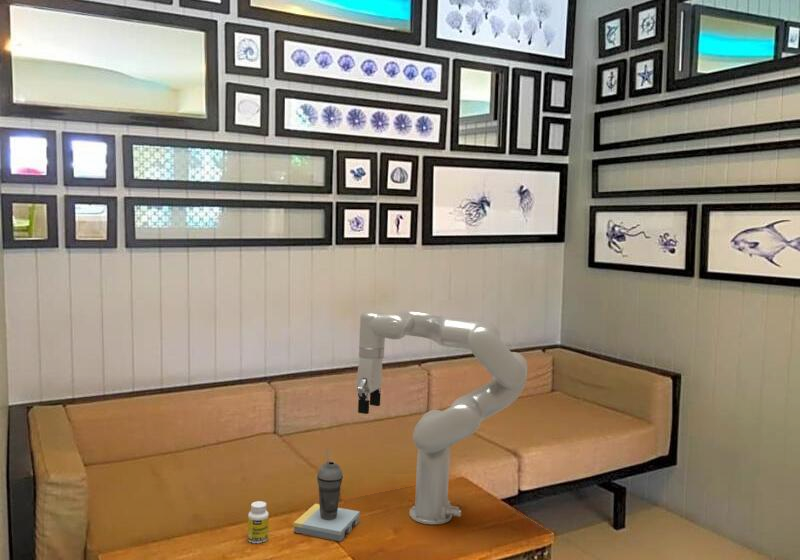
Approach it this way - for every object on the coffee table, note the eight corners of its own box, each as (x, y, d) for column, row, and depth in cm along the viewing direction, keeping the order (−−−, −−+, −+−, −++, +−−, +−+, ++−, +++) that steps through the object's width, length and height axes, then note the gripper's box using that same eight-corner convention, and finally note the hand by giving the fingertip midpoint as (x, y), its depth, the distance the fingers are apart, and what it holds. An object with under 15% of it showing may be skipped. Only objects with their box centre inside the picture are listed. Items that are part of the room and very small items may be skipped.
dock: (359, 521, 192) (359, 511, 192) (340, 542, 179) (340, 531, 179) (315, 513, 197) (315, 503, 197) (293, 533, 183) (293, 522, 183)
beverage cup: (337, 523, 184) (339, 452, 182) (311, 520, 185) (314, 449, 184) (344, 513, 191) (347, 444, 189) (320, 509, 192) (322, 441, 191)
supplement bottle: (250, 545, 175) (251, 509, 175) (245, 536, 180) (246, 501, 179) (270, 542, 178) (271, 506, 177) (264, 533, 183) (265, 498, 182)
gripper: (369, 347, 208) (367, 401, 210) (348, 356, 192) (346, 414, 193) (392, 349, 206) (390, 404, 207) (373, 359, 190) (370, 418, 191)
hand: (369, 409), depth 200 cm, fingers open, 9 cm apart
